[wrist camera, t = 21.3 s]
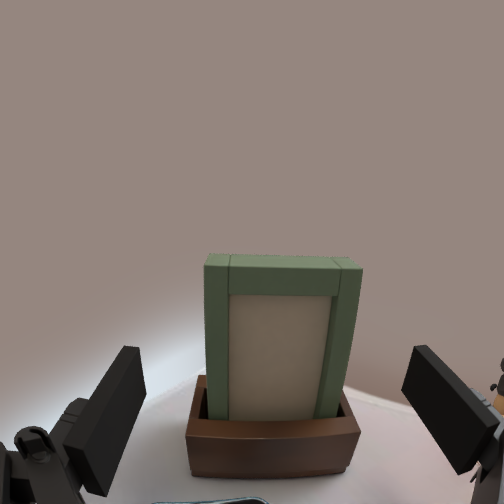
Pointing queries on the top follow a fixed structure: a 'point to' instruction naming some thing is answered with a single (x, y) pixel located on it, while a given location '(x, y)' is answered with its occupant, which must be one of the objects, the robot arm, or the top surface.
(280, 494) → the top surface
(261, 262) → the frame
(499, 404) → the toy
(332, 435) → the holder
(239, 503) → the smartphone
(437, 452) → the top surface
